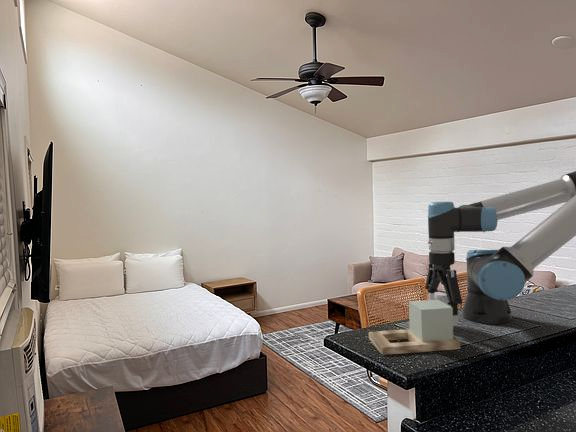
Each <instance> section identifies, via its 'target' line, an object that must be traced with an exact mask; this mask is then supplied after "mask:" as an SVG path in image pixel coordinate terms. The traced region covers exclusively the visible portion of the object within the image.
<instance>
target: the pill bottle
mask: <svg viewBox="0 0 576 432" xmlns="http://www.w3.org/2000/svg"><path fill="white" fill-rule="evenodd" d="M435 299H436V300H440V301H441V302H443V303H445V304H447V303H448V302H449V300H448V297H447V294H446V291H438V292H435ZM447 305H448V304H447ZM453 330H454V326H453Z"/></svg>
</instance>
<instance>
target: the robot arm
mask: <svg viewBox="0 0 576 432" xmlns="http://www.w3.org/2000/svg"><path fill="white" fill-rule="evenodd" d="M561 204H563V205H561ZM556 205H561V206H560V207H559V208H557V209H556V210H555V211H554V212H553V213H551V214H550V215H549V216H547V217H546V218H544V220H543V221H541V222H540V223H538V225H536V226H535V227H534V228H532V229H531V230H530V231H529V232H528V233H526V234H525V235H524V236H522V237H521V238H520V239H519V240H518V241H516V242H515V243H514V244H513V245H512V246H502V247H500V248H499V249H469V250H468V251H466V259H465V260H466V287H467V288H466V289H467V290H466V291H467V292H466V297H465V300H464V303H463V299H462V295H461V291H460V286H459V285H460V284H459V282H458V276H457V270H456V269H451V266H452V265H454V264H455V262H456V261H455V259H456V258H455V257H456V256H455V255H456V253H455V252H454V251H455V250H456V249H455V247H456V246H455V233H460V232H461V233H462V232H464V233H468V232H469V233H472V232H473V233H476V232H477V233H479V232H480V233H481V232H483V233H486V232H494V231H496V229H497V227H498V221H499V220H503V219H508V218H511V217H515V216H519V215H523V214H526V213H529V212H533V211H538V210H541V209H547V208H548V207H552V206H556ZM427 209H428V210H427V211H428V212H427V223H428V224H427V227H428V241H427V244H428V250H429V252H428V262H429V264H428V271H427V272H428V273H427V277H426V282H425V287H424V288H425V290H427V293H428V300H436V299H435V293H437V292H439V291H438V288H439V286H440V284H441V285H443V288H444V290H445V291H444V292H446V294H447V297H448V300H449V302H448V303H447V304H448V305H449V306H450V307H452V308H453V326H455V327H456V326H459V306H458V305H460V304H463V305H462V307H461V312H462V314H461V315H462V317H463V318H464V319H466V320H468V321H471V322H475V323H480V324H488V325H489V324H490V325H495V324H496V325H498V324H499V325H500V324H501V325H502V324H506V323H509V322H511V321H512V320H513V314H512V310H511V307H510V305H509V302H508V301H509V300H512V299H515V298H517V296H519V295H520V294H521V293H522V292H523V290H524V288H525V284H526V283H527V282H528V281H529V280H530V279H531V278H533V277H534V271H535V268H536V267H538V266H539V265H541V263H543V262H544V261H546V260H547V259H548V258H549V257H551V256H552V255H553V254H554V253H556V252H557V251H558V250H560V248H562V247H564V245H566V244H567V243H568V242H569V241H571V240H572V239H573V238H575V237H576V170H574V171H571V172H568V173H566V174H562V175H561V176H560V178H559V179H556V180H551V181H548V182H545V183H542V184H537V185H534V186H530V187H527V188H523V189H521V190H515V191H512V192H509V193H505V194H502V195H499V196H498V195H497V196H494V197H491V198H487V199H485V200H481V201H477V202H473V203H470V204H462V205H460V206H458V207H455V204H454V202H453V201H432V202H430V203H429V204H428V207H427Z"/></svg>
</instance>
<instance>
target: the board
mask: <svg viewBox="0 0 576 432" xmlns="http://www.w3.org/2000/svg"><path fill="white" fill-rule="evenodd" d="M368 339H369V341H370V342H371V343H372V344H373V345H374V347H375V348H376V349H377V350H378V352H379V353H380V354H381V355H383V356H386V355H397V354H398V355H400V354H412V353H425V352H435V351H436V352H437V351H440V352H441V351H451V350H452V351H453V350H461V341H460V340H458V339H457V338H456V337H454V336H453V340H440V341H427V342H422V341H420V340H419V339H418V338H417V337H416V336H415V335H413V334H412V333H411V332H410V328H404V329H390V330H380V331H379V330H376V331H368ZM397 340H399V341H400V340H407V341H402V342H390V341H397Z"/></svg>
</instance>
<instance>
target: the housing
mask: <svg viewBox="0 0 576 432" xmlns="http://www.w3.org/2000/svg"><path fill="white" fill-rule="evenodd" d="M408 316H409V317H408V319H409V320H408V322H409V329H410V332H411V333H412V334H413V335H415V336H416V337H417V338H418V339H419V340H420V341H422V342H427V341H440V340H453V337H454V329H453V308H452V307H450V306H449V305H447V304H445V303H443V302H441V301H440V300H429V299H427V300H424V299H423V300H413V301H411V300H409V301H408Z"/></svg>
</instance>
